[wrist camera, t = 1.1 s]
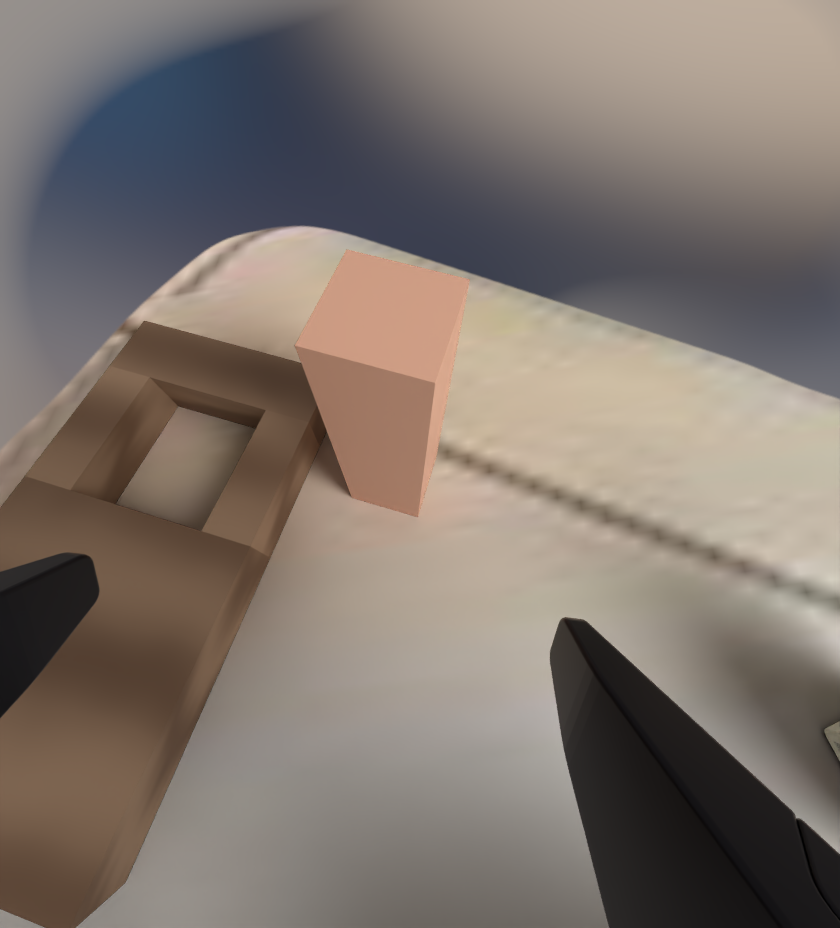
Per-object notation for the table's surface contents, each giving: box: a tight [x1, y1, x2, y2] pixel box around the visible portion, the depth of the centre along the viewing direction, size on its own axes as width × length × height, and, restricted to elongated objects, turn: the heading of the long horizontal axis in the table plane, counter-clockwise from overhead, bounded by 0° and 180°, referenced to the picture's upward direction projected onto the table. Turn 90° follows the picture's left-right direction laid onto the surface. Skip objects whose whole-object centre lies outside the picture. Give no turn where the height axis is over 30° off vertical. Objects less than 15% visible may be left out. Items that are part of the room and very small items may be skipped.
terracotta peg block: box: [295, 250, 470, 517], centre depth 17 cm, size 4×4×13 cm
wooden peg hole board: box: [0, 321, 327, 928], centre depth 19 cm, size 24×12×3 cm, turn 164°
